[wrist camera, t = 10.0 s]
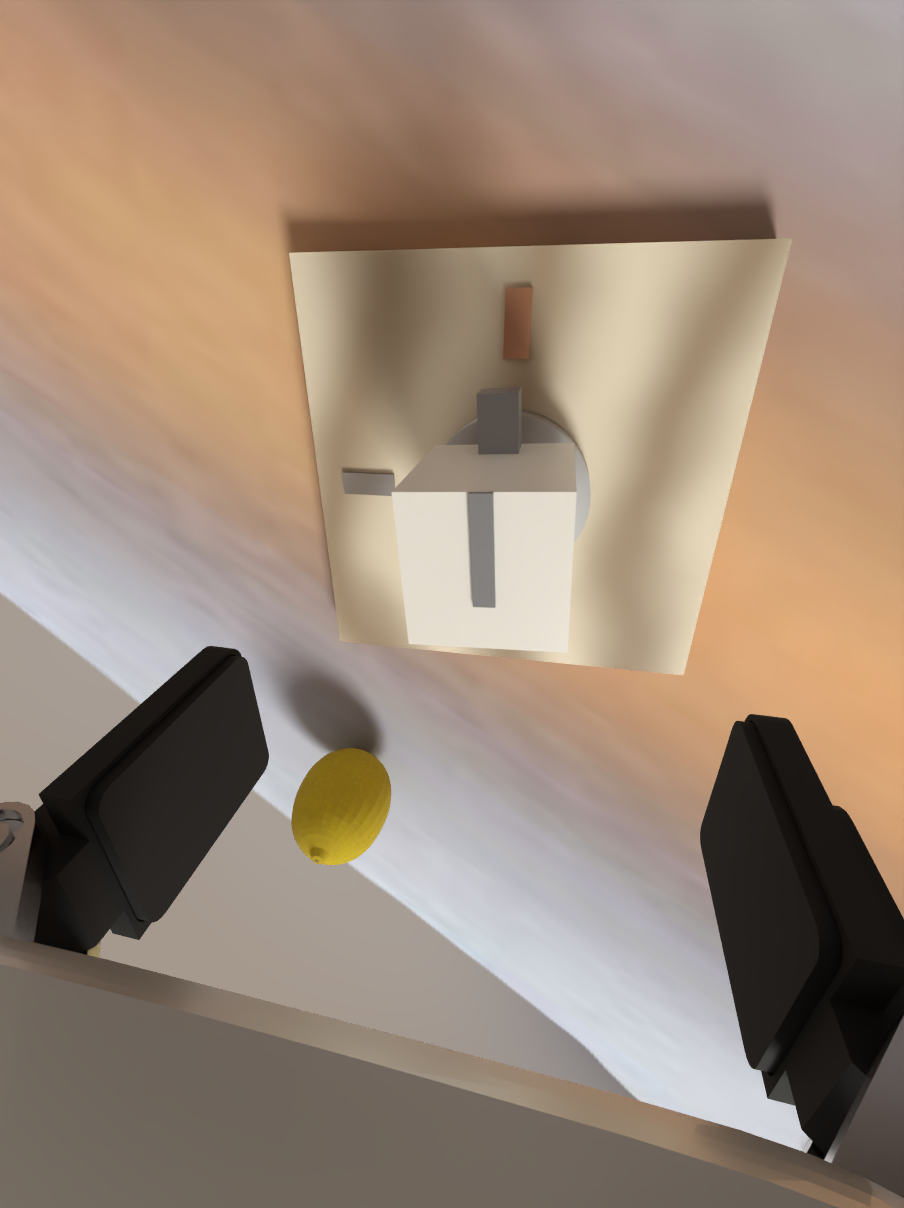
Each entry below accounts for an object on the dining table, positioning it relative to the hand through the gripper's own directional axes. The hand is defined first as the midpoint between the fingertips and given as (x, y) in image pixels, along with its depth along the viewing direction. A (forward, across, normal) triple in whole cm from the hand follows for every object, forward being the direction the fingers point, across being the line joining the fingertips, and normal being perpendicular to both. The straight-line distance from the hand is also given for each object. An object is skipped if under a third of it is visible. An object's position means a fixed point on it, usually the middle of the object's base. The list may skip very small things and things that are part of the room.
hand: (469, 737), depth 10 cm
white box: (+13, +1, -1) cm, 13 cm away
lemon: (+17, +10, +19) cm, 27 cm away
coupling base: (+17, +1, 0) cm, 17 cm away
